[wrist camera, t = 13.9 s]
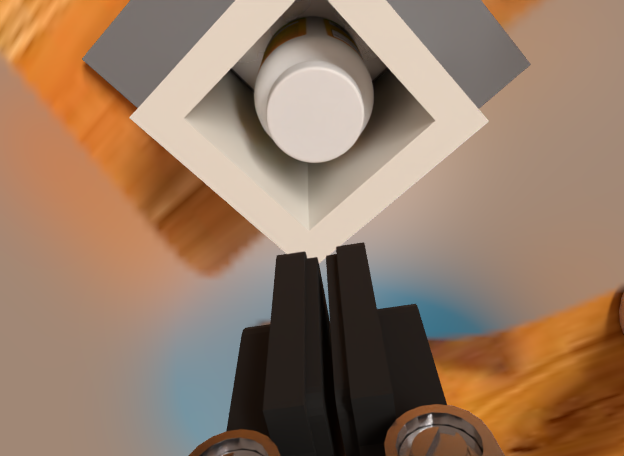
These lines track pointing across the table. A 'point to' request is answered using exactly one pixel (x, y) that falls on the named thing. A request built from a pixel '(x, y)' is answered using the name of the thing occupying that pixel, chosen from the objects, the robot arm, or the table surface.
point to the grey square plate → (306, 4)
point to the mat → (191, 28)
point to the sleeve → (287, 170)
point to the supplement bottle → (313, 90)
